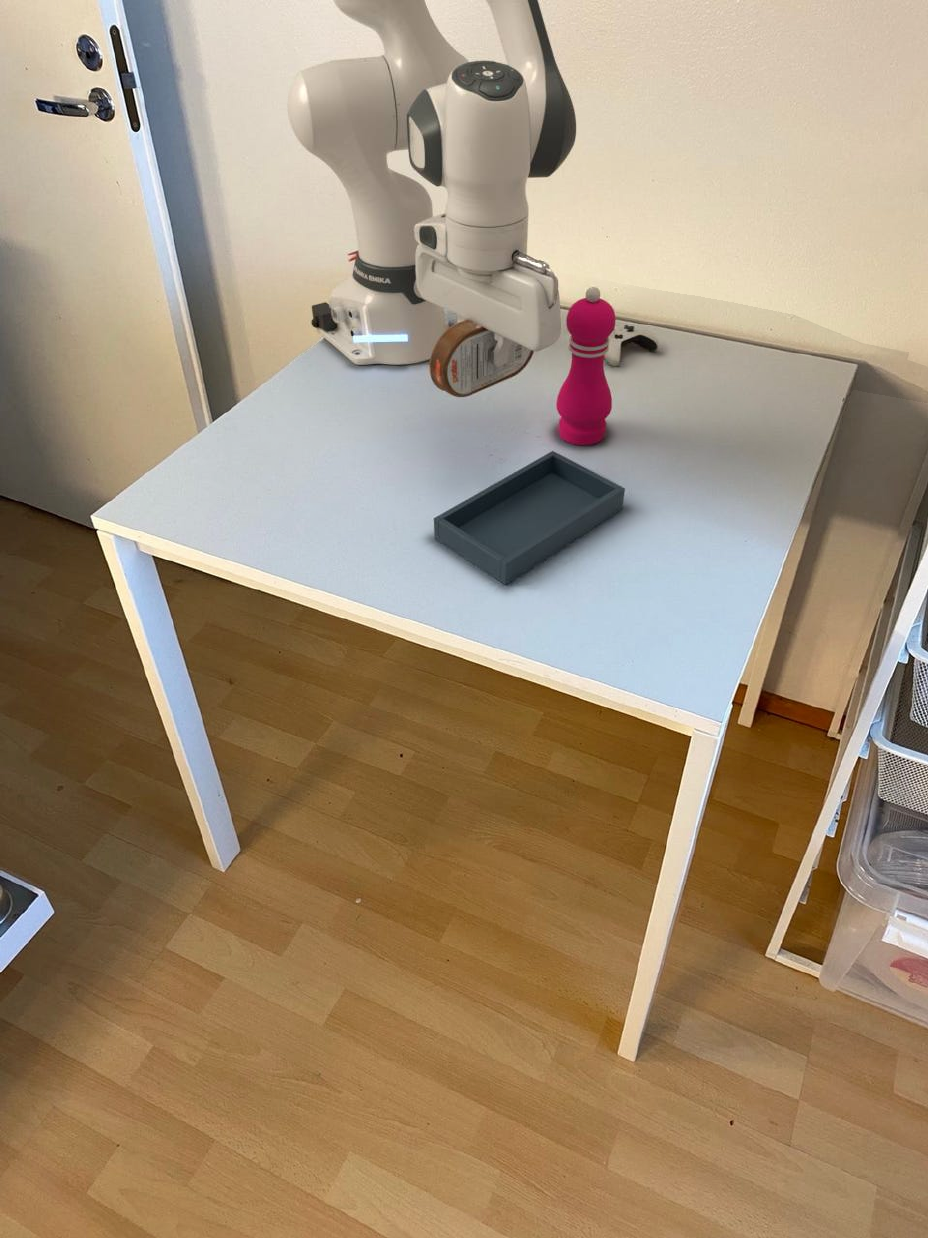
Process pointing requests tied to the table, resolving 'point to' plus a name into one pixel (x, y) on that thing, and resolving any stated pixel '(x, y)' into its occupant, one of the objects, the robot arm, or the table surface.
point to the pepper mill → (586, 371)
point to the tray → (528, 516)
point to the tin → (472, 360)
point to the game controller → (625, 336)
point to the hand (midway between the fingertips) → (485, 357)
